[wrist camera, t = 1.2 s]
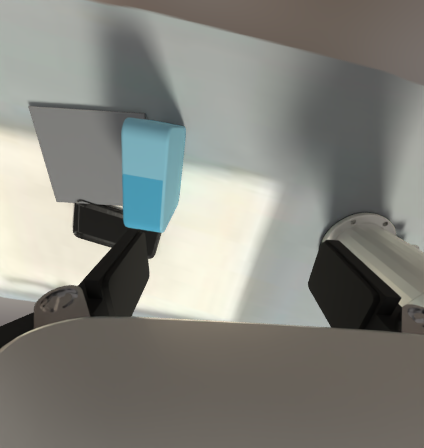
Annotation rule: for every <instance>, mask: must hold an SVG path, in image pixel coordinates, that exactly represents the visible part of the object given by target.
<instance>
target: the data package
mask: <svg viewBox="0 0 424 448" xmlns="http://www.w3.org/2000/svg"><path fill="white" fill-rule="evenodd" d="M185 138H186V129H185V127H184V126H180V125H175V124H170V123H165V122H159V121H154V120H146V119H138V118H130V117H129V118H126V119H125V121H124V123H123V125H122V131H121V146H122V189H123V221H124V225H125V226H126V227H128V228H135V229H141V230H147V231H154V232H160V233H163V232H164V231H165V229H166V227H167V225H168V223H169V221H170V219H171V217H172V215H173V213H174V211H175V209H176V207H177V205H178V201H179V195H180V185H181V176H182V166H183V157H184V147H185Z"/></svg>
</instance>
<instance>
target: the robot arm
mask: <svg viewBox="0 0 424 448" xmlns="http://www.w3.org/2000/svg"><path fill="white" fill-rule="evenodd" d="M148 279H149V265H148V255H147V246H146V237H145V233H144V232H142V231H141V229H128V230H127V232H126V233H125V234H124V235H123V236H122V237H121V238H120V239H119V240H118V242H117V243H116V244H115V245H114V246H113V247H112V248H111V249H110V251H109V252H108V253H107V254H106V255H105V256H104V257H103V258H102V259H101V261H100V262H99V263H98V264H97V265H96V266H95V267H94V268H93V270H92V271H91V272H90V273H89V274H88V275H87V276H86V277H85V278H84V280H83V281H82V282H81V283H80V284H79V285H78V286H74V285H68V286H62V287H59V288H56V289H54V290H51V291H49V292H48V293H46V294H44V295H43V296H42V297H41V298H40V299H39V300H38V301H37V302H36V304H35V306H34V312H33V313H31V314H29V315H26V316H24V317H22V318H19V319H17V320H14V321H12V322H10V323H7V324H5V325H3V326H0V448H424V252H422V251H420V250H419V247H418V246H417V245H410V244H409V243H407V242H405V241H404V240H402V239H400V238H399V237H397V236H396V230H395V227H394V225H393V224H392V223H391V222H390V221H389V220H388V219H386V218H385V217H383V216H380V215H378V214H374V213H358V214H355V215H351V216H349V217H346V218H344V219H342V220H341V221H339V222H337V223H336V224H335V225H334V226H333V227H331V228H330V230H329V231H328V232H327V233H326V235H325V236H324V238H323V240H322V243H321V245H320V248H319V251H318V254H317V257H316V260H315V263H314V266H313V269H312V272H311V275H310V278H309V281H308V287H309V289H310V291H311V293H312V295H313V296H314V298H315V300H316V302H317V303H318V305H319V307H320V309H321V310H322V312H323V314H324V315H325V317H326V319H327V321H328V322H329V324H330V326H331V328H330V327H314V326H298V325H281V324H264V323H246V322H228V321H209V320H189V319H170V318H149V317H131V316H132V314H133V312H134V309H135V307H136V305H137V303H138V301H139V299H140V297H141V294H142V292H143V290H144V288H145V286H146V284H147V281H148Z"/></svg>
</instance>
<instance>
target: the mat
mask: <svg viewBox="0 0 424 448" xmlns="http://www.w3.org/2000/svg"><path fill="white" fill-rule="evenodd" d="M28 107H29V110H30V113H31V117H32V120H33V123H34V127H35V130H36V134H37V137H38V140H39V144H40V147H41V151H42V154H43V157H44V161H45V164H46V168H47V171H48V174H49V178H50V181H51V185H52V188H53V191H54V195H55V198H56V201H57V202H68V203H75V202H76V201H77V200H85V201H88V202H91V203H94V204H102V205H118V206H123V189H122V146H121V131H122V125H123V123H124V121H125V119H126V118H129V117H130V118H138V119H146V117H145V114H144V113H128V112H113V111H97V110H81V109H66V108H50V107H35V106H28ZM78 203H85V204H89V203H86V202H83V201H81V202H78Z"/></svg>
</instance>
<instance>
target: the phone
mask: <svg viewBox="0 0 424 448" xmlns="http://www.w3.org/2000/svg"><path fill="white" fill-rule="evenodd" d="M81 201H83V202H86V203H89V204H85V203H78V202H81ZM128 229H135V228H128V227H126V226H125V225H124V221H123V211H121V210H118V209H115V208H112V207H109V206H106V205H102V204H94V203H91V202H88V201H85V200H77V201H76V202H75V211H74V226H73V233H74V235H75V236H76V237H78V238H81V239H84V240H88V241H91V242H94V243H98V244H101V245H104V246H108V247H111V248H112V247H113V246H114V245H115V244H116V243H117V242H118V240H119V239H120V238H121V237H122V236H123V235H124V234H125V233H126V232H127V230H128ZM141 231H142V232H144V233H145V237H146V246H147V255H148V259H151V258H153V257H154V255H155V253H156V250H157V247H158V243H159V240H160V236H161V233H160V232H154V231H147V230H141Z"/></svg>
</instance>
